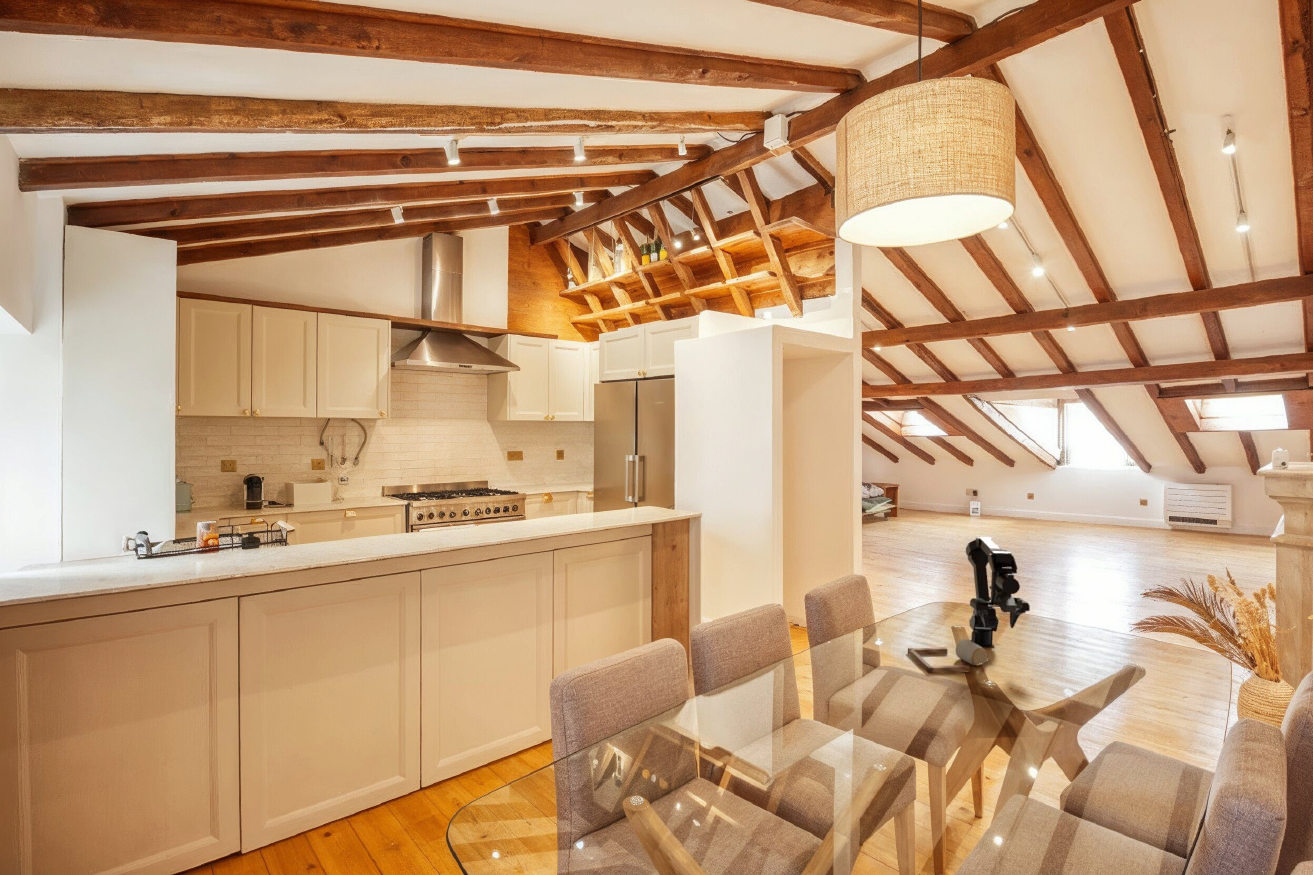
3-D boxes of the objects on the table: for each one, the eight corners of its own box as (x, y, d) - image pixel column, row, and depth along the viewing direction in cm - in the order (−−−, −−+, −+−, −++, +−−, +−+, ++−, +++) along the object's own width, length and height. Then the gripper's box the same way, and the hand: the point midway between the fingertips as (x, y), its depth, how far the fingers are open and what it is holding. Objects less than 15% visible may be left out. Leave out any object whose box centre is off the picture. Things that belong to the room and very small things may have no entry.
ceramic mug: (972, 668, 226) (973, 647, 225) (954, 659, 233) (955, 639, 233) (994, 664, 229) (996, 644, 229) (976, 655, 237) (977, 635, 237)
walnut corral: (945, 652, 240) (945, 647, 240) (969, 672, 223) (969, 666, 223) (907, 653, 239) (907, 648, 239) (928, 673, 222) (928, 667, 222)
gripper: (983, 592, 221) (982, 635, 222) (1038, 592, 220) (1037, 636, 221) (969, 582, 232) (968, 624, 233) (1022, 583, 231) (1020, 624, 232)
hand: (998, 627), depth 229 cm, fingers open, 9 cm apart
